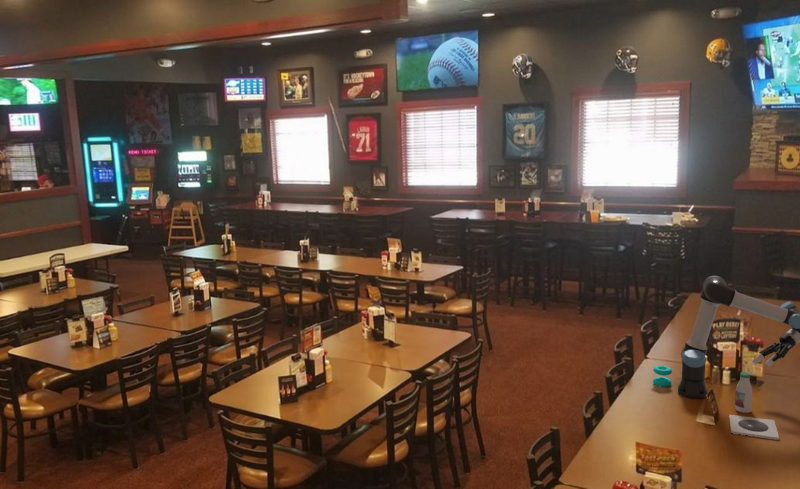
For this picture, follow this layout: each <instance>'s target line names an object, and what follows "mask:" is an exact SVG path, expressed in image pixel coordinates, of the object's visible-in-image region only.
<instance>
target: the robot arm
mask: <svg viewBox="0 0 800 489" xmlns="http://www.w3.org/2000/svg"><path fill="white" fill-rule="evenodd" d="M699 297H700V300H701V302H700V306H699V309H698V312H697V315H696V319H695V322H694V325H693V327H692V328H693V329H692V331H691V335H690V337H689V339H688V340H686V341H685V344H684V347H683V348H682V350H681V353H680V355H681V362H682V363H681V365H682V366H681V379H680V382H679V384H678V386H677V394H679V395H680V396H681V397H685V398H688V399H689V398H690V399H699V400H700V399H705V398H706V395H707V393H708V391H709V390H708V388H707V385H706V382H705V379H706V363H707V357H706V354H707V351H708V350H709V349H708V346H707V342H708V338H709V335H710V332H711V329H712V327H713V323H714V321H715V317H716V315H717V312H718V311H717V310H718V309H719V306H721V305H722V306H727V307H729V308H730V307H735V308H738V309H741V310H745V311H747V312H750V313H752V314H757V315H759V316H762V317H764V318H768V319H771V320H773V321H776V322H780V323H783V324H785V325H789V326H790V327H791V328H789V329H788V330H787V331H786V332H784V333H783V335H781V336H780V337H779V338H778V339H779V340H778V341H779V342H773V343H772V344H770V346H767V347H765V348H764V349H762V350H760V351H759V354H758V355H757V356H755V358H753V359H752V360H751V362H752V363H753V365H755V366H756V365H758V364H759V363H760V362H761V361H762V360H764V359H765V358H766V357H767V356H768V355H771V354H773V353H775V354H773V355H772V356H771V357H770V358H769V359H767V360H766V361H764V363H765V365H767V367H771V366H772V365H773V364H775V363H776V362H777V361H778V360H779V359H784V358H785V357H786V355H787V353H788V352H789V351H790V350H791V349H792V348H794V347H795V346H796V345H798V344H799V343H800V309H799V308H797V306H796V304H794V303H793V301H786V302H784V303H783V304H781V305H777V304H775V303H774V304H773V303H770V302H767V301H764V300H763V299H758V298H755V297H752V296H750V295H747V294H743V293H740V292H738V291H737V290H736V289H734V288H731V287H729V286H728V283H727V282H726V280H725V279H724V278H722V277H721V276H718V275H711V276H708V277H707V278H705V280H704V281H703V283H702V290H701V293H700V296H699ZM707 396H708V395H707Z"/></svg>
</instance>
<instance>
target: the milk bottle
mask: <svg viewBox="0 0 800 489" xmlns="http://www.w3.org/2000/svg"><path fill="white" fill-rule="evenodd" d="M739 377H740V379H739V381H738V383H737V385H736V387H735V399H734V409H735V411H737V412H740V413H743V414H748V413H751V412H752V407H753V386H752V383H751V382H750V381H751V380H750V379H751V374H750V373H749V372H744V371H743V372H740V374H739Z"/></svg>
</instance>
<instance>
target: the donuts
mask: <svg viewBox="0 0 800 489" xmlns="http://www.w3.org/2000/svg"><path fill="white" fill-rule="evenodd" d="M652 371H653V372H654V373H655V374H656V375H659V376H656V377H654V378H653V379H652V383H653V384H654V386H658V387H660V386H661V387H662V388H666V387H667V388H668V387H671V385H672V380H671V379H670V378H668V377H666V376H669V375H671V374H673V370H672V368H671V367H669V366H667V365H655V366H654V367H653V370H652Z"/></svg>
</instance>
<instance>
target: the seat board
mask: <svg viewBox="0 0 800 489" xmlns="http://www.w3.org/2000/svg"><path fill="white" fill-rule="evenodd" d="M728 415H729V416H728V419H729V425H730V433H733V434H732V435H738V434H741V435H740V436H745V435H748V436H747V437H753V436H754V437H753V438H761V439H768V440H776V441H779V440H780V437H779V436H780V435H779V433H778V429H777V425H776V422H775V419H767V418H759V417H751V416H743V415H734V414H728Z"/></svg>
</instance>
